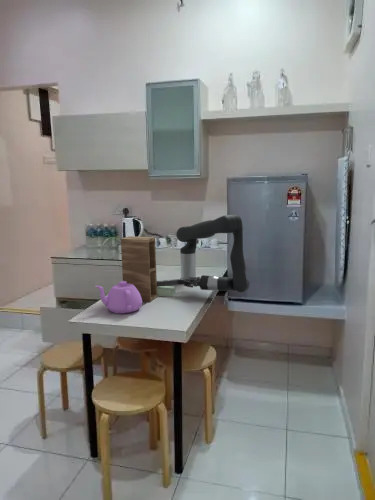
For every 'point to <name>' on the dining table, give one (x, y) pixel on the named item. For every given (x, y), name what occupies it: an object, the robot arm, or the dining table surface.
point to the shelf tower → (140, 265)
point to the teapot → (121, 298)
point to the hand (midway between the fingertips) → (178, 281)
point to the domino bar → (170, 282)
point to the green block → (166, 291)
